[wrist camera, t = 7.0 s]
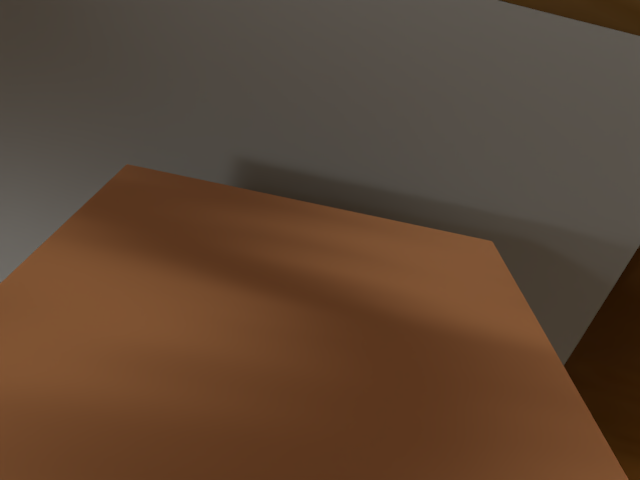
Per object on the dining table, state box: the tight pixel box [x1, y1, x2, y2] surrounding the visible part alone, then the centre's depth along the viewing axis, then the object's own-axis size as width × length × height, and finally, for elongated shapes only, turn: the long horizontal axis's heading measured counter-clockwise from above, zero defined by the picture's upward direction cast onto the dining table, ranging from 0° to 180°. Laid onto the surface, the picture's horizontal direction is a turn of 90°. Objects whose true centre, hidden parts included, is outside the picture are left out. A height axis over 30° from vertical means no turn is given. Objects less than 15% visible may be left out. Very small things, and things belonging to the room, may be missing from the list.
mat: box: [0, 0, 640, 366], centre depth 11 cm, size 13×13×1 cm
